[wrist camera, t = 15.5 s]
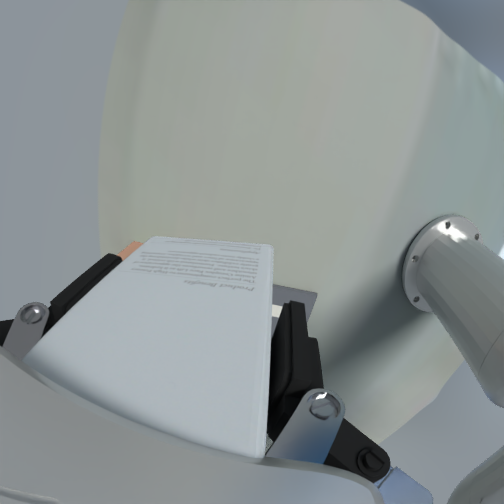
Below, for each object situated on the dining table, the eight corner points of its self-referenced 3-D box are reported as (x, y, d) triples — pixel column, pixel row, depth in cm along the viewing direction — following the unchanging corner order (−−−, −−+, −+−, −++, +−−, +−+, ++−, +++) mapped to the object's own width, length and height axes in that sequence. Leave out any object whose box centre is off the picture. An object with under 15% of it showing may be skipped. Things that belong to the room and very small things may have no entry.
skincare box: (161, 304, 14) (50, 499, 3) (152, 228, 13) (-44, 424, 2) (272, 317, 14) (246, 568, 3) (279, 236, 12) (255, 583, 1)
